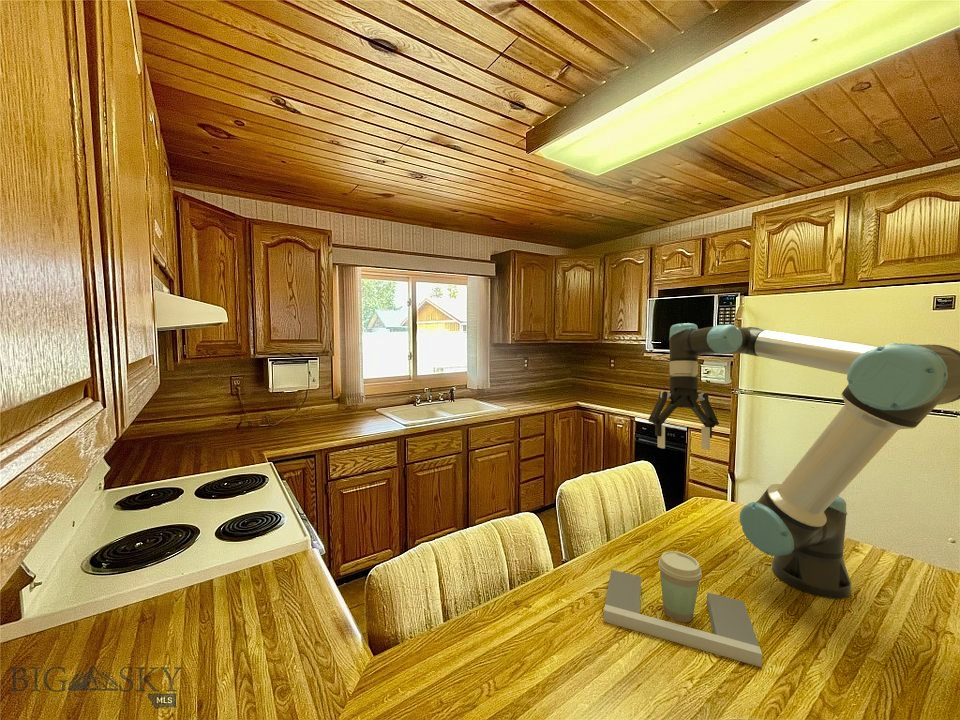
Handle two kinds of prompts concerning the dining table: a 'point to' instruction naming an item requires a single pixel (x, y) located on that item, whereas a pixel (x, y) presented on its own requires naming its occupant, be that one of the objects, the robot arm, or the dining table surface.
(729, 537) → the dining table surface
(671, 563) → the coffee cup
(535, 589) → the dining table surface
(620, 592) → the u-shaped bracket
